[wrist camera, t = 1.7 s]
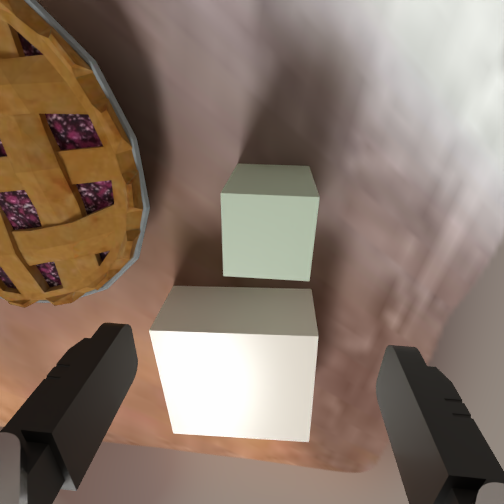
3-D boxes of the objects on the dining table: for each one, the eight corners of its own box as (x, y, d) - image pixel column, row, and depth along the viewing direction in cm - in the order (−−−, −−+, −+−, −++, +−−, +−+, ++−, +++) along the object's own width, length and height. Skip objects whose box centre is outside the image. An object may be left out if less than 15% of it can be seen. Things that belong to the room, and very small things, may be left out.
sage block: (237, 163, 22) (220, 193, 16) (308, 166, 22) (319, 197, 16) (238, 228, 25) (223, 276, 18) (302, 231, 24) (309, 281, 18)
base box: (174, 284, 28) (149, 330, 23) (311, 287, 27) (318, 336, 21) (190, 378, 33) (173, 433, 28) (304, 383, 32) (308, 441, 27)
